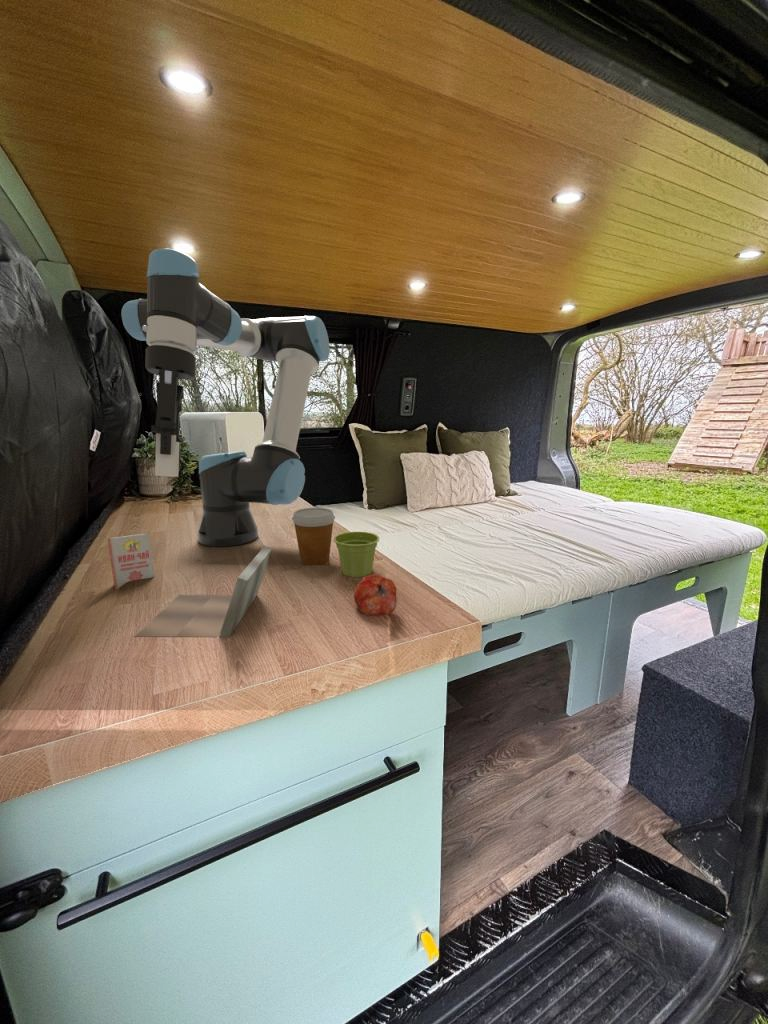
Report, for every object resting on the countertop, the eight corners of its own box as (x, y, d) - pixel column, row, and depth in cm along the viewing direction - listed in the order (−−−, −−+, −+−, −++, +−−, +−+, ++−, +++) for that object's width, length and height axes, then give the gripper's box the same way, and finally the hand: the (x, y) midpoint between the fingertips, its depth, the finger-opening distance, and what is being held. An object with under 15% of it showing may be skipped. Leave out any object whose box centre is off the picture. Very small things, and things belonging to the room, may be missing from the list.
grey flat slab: (256, 597, 74) (248, 595, 73) (272, 548, 71) (264, 545, 71) (228, 639, 60) (219, 636, 60) (247, 580, 58) (237, 577, 58)
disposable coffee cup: (343, 565, 92) (342, 513, 89) (304, 573, 87) (302, 519, 84) (324, 553, 100) (323, 505, 97) (287, 560, 95) (285, 510, 92)
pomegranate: (350, 621, 72) (354, 611, 63) (352, 580, 75) (357, 565, 66) (391, 623, 73) (401, 614, 64) (392, 583, 76) (402, 569, 67)
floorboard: (180, 601, 74) (179, 594, 73) (246, 602, 74) (246, 595, 73) (135, 645, 60) (134, 636, 60) (217, 645, 60) (216, 636, 60)
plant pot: (325, 576, 86) (324, 537, 83) (357, 565, 92) (357, 528, 90) (355, 590, 79) (355, 548, 77) (388, 576, 86) (388, 537, 84)
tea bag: (115, 583, 81) (108, 536, 78) (154, 577, 84) (148, 531, 82) (115, 590, 78) (107, 541, 75) (155, 583, 81) (149, 535, 79)
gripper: (153, 365, 78) (150, 475, 80) (135, 319, 56) (132, 474, 57) (196, 372, 82) (192, 477, 83) (195, 331, 59) (191, 477, 60)
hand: (167, 476), depth 70 cm, fingers open, 13 cm apart
